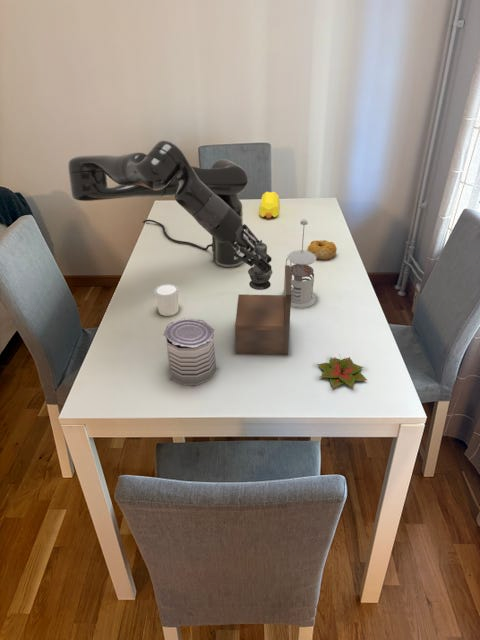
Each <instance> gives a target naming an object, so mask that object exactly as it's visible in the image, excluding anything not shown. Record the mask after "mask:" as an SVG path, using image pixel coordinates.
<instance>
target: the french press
mask: <svg viewBox="0 0 480 640" xmlns="http://www.w3.org/2000/svg"><path fill="white" fill-rule="evenodd" d="M300 225H301V226H303V228H302V240H301V242H302V243H301V249H298V250H294V251H291V252H289V253H288V254H287V258H286V259H285V265H288V264H287V263H288V262H287V261H289V265H290V278H291V307H293V308H299V309H301V308H308V307H310V306H312V305H314V304H315V302H316V296H315V295H314V283H315V273H314V268H313V267H312V266H311V265H313V264H314V263H315V262H316V261H317V258H316V256H315V255H314V254H313V253H311V252H309V251H307V250H305V249H304V237H305V226H306V225H308V220H307V219H305V218H303V219H301V220H300ZM292 264H293V265H292Z"/></svg>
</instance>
